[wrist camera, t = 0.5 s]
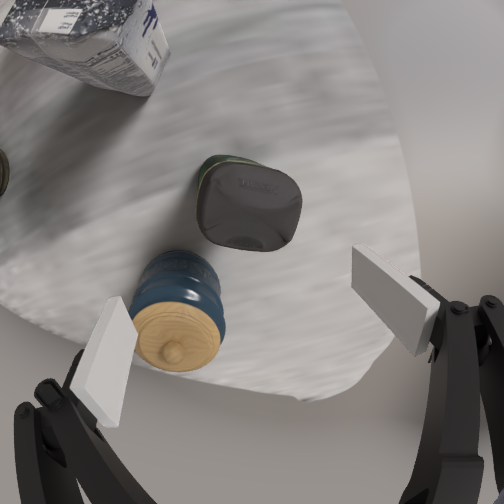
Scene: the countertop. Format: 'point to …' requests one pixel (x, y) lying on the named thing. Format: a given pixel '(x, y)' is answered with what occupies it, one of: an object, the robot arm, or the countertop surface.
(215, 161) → the coffee jar
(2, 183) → the container
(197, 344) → the canister
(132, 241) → the countertop surface
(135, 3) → the juice carton
